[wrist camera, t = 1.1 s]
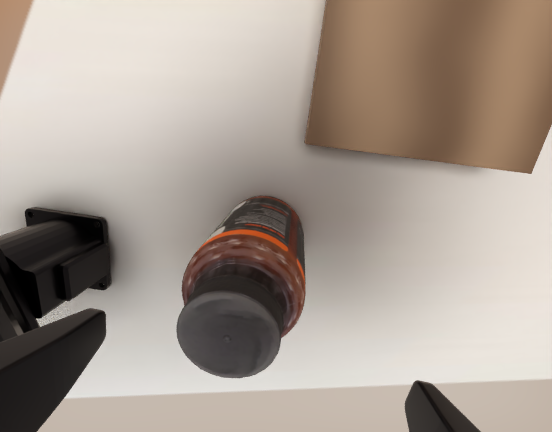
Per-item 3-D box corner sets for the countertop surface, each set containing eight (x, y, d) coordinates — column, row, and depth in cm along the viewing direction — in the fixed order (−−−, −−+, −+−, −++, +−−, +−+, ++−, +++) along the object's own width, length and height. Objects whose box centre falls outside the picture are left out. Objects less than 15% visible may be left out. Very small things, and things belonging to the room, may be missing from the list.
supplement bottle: (218, 202, 20) (124, 278, 9) (294, 186, 19) (289, 250, 8) (238, 271, 22) (177, 405, 11) (309, 259, 21) (321, 392, 10)
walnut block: (304, 142, 18) (305, 144, 14) (338, -79, 15) (351, -154, 11) (481, 165, 18) (531, 173, 14) (560, -58, 14) (656, -129, 10)
